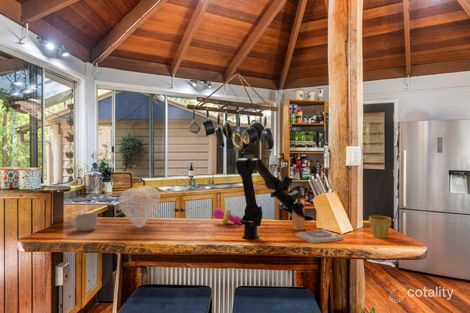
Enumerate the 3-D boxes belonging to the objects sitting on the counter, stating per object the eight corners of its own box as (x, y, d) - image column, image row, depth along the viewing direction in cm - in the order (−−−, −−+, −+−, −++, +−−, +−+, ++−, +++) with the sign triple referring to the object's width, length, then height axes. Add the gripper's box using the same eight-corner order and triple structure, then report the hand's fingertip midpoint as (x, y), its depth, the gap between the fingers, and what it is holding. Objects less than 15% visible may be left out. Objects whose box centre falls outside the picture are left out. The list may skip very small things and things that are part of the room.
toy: (238, 228, 175) (244, 211, 179) (208, 218, 178) (215, 201, 182) (238, 231, 185) (244, 215, 188) (210, 221, 187) (216, 205, 191)
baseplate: (311, 243, 145) (311, 237, 145) (295, 235, 158) (295, 230, 158) (343, 239, 152) (343, 234, 152) (324, 232, 165) (325, 227, 165)
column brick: (296, 230, 170) (297, 205, 170) (292, 228, 175) (292, 204, 175) (304, 229, 172) (304, 205, 172) (299, 227, 176) (299, 203, 176)
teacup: (96, 231, 162) (96, 216, 162) (73, 233, 158) (73, 217, 158) (97, 225, 175) (98, 211, 175) (76, 227, 171) (76, 212, 171)
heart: (140, 234, 156) (140, 190, 156) (112, 232, 160) (112, 189, 159) (164, 222, 184) (164, 185, 184) (139, 221, 187) (140, 184, 187)
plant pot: (389, 240, 151) (390, 220, 151) (366, 237, 157) (367, 217, 157) (392, 236, 160) (392, 217, 160) (370, 233, 165) (370, 214, 165)
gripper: (301, 187, 163) (318, 207, 167) (283, 184, 180) (299, 202, 184) (288, 203, 160) (306, 223, 164) (270, 198, 177) (287, 216, 182)
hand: (299, 215), depth 174 cm, fingers open, 9 cm apart
